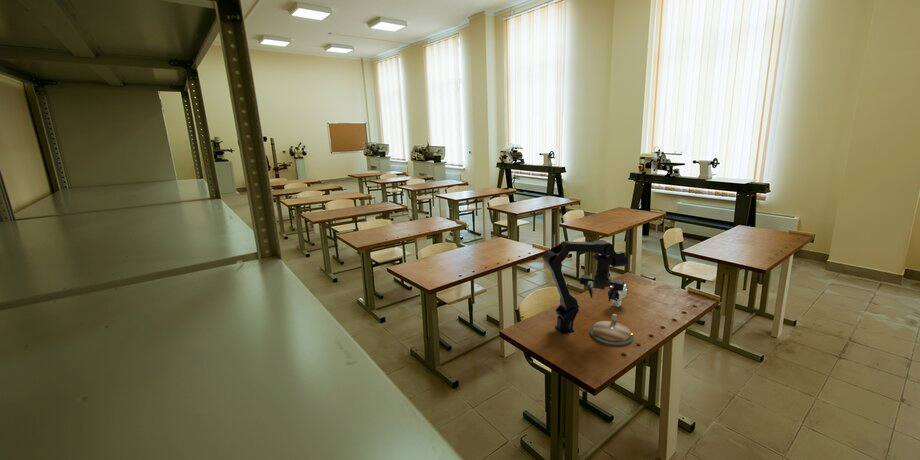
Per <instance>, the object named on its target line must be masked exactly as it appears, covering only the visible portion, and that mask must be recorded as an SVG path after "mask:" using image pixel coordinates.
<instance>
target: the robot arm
mask: <svg viewBox="0 0 920 460" xmlns="http://www.w3.org/2000/svg"><path fill="white" fill-rule="evenodd" d="M571 252H573V253H574V252H575V253H577V252H578V253H595V254H594V255H593V256H592V258H593V260H596V266H595V267H596V268H595V275H594V278H592V277H591V275H588V274H582V275H581V277H580V278H579V284H580V285H583V286H584V287H586V288H587V290H588V293H589V296H590V299H593V294H594V289H599V290H605V289H606V288H609V287H611V286H612V288H611V291H610V295H609V296H608V302H611V300H612V299H611V297H612V295H613V294H614V292H615V291H616V292H617V291H618V290H619V291H623V288H624V284H625V281H624V280H619V279H614V281H611V278H610V269H611V267H612V268H620V267H626V266H627V265H628V258H627V256H626V252H625V251H617V252H616V251H615V247H614V245H613V243H611V242H609V241H607V240H605V239H596V240H594V241H588V242H587V241H567V240H563V241H561V242H560V243H559V244H558V245H555V246H553V247H552V248H550V249H549V250H547V251H545V252H544V254H543V256H542V261H543V262H544V264H545V266H546V267H547V268H548V270H549V271H550V272H551V276H552V278H553V280H554V283H555V287H556V288H557V292H558V293H559V304H560V305H559V306H558V307H557V308H555V313H556V315H557V317H556V325H555V326H554V327H555V329H557V330H558V331H559V333H561V334H567V333H572V332H575V329H574V321H575V319H576V317H577V315H578V313H579V312H580V310H579V308H580V305H579V304H578V300H577V299H576V298H575V297H574V296H573V295H571V293H570V291H569V288H568V285H567V282H566V279H565V277H564V274H563V272H562V268H563V261H565V259H566V258H567V257H568V255H569V254H570V253H571Z"/></svg>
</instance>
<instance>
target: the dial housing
mask: <svg viewBox="0 0 920 460" xmlns="http://www.w3.org/2000/svg"><path fill="white" fill-rule="evenodd" d="M589 334H590V336H591V337H592V338H593V339H594V340H595V341H597V342H599V343H600V344H604V345H609V346H616V347H618V346H619V347H622V346H628V345H629V344H631V343H632V342H634V334H633V332H632V331H631V337H630V339H629V340H627V341H624V342H610V341H606V340H603V339H601V338H599V337H597V336H596V335H595V334H594V333H593V325H591V327H590V329H589Z"/></svg>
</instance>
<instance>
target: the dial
mask: <svg viewBox="0 0 920 460" xmlns="http://www.w3.org/2000/svg"><path fill="white" fill-rule="evenodd" d="M617 321H618V315H617V314H616V313H612V314H611V320H601V321H597V322H595V323H594V324H593V325H592V326H593V333H594V334H595V335H596V336H597V337H599V338H601V339H603V340H606V341H610V342H624V341H627V340H629V339H630V337H631V332H632V331H631V329H630V328H629V327H628V326H626V325H625V324H622V323H620V322H617Z"/></svg>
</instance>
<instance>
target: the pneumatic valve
mask: <svg viewBox="0 0 920 460" xmlns="http://www.w3.org/2000/svg"><path fill="white" fill-rule="evenodd" d="M611 288H612V286H610V287H608V289H609V290H608V292H607V296H608V297H609V295H610V291H611ZM628 293H629V289H628V285H627V284H625V283H624V288H623V291H619V290H618V291H617V292H616V291H615V292H614V294H613V295H612V297H611V299H610V300H612V303H611V305H612V306H613V307H616V308H618V307H621V306H622V301H623V300H622V299H623V298H625V297H626V296H627V295H628Z"/></svg>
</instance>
